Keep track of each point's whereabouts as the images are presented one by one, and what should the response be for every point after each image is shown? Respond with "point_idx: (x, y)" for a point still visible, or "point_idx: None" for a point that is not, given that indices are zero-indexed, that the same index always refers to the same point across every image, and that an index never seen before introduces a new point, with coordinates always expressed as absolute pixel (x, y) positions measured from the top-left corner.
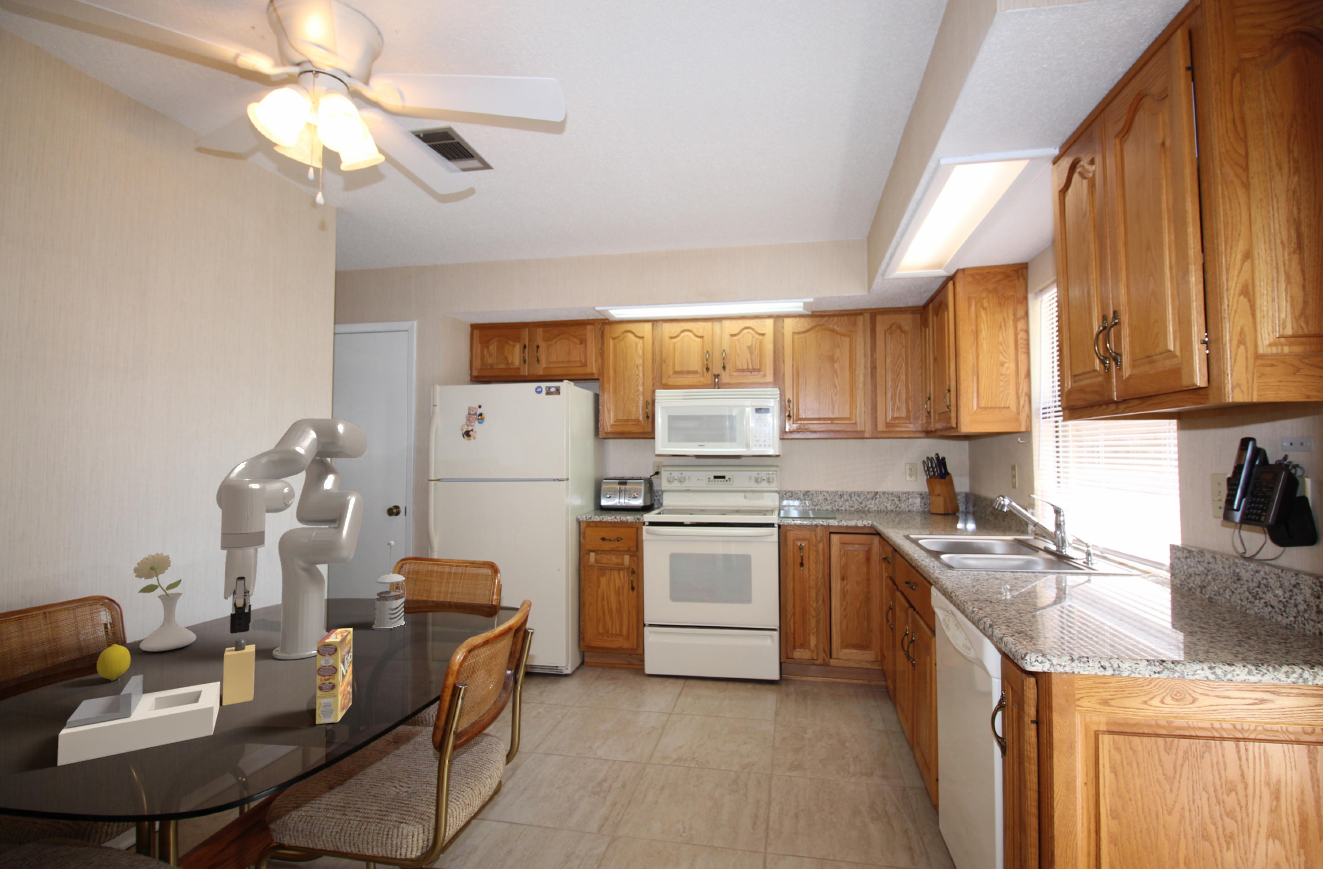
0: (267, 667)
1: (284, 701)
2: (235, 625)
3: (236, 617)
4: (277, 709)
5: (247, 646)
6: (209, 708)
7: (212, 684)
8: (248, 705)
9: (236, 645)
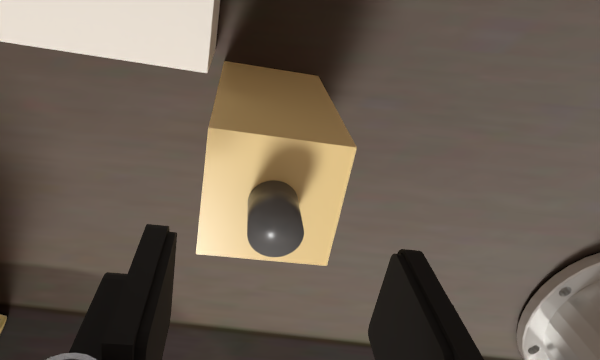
0: (532, 221)
1: (134, 223)
2: (99, 290)
3: (72, 351)
4: (66, 199)
5: (311, 235)
6: None
7: (182, 41)
8: (167, 132)
9: (256, 202)
